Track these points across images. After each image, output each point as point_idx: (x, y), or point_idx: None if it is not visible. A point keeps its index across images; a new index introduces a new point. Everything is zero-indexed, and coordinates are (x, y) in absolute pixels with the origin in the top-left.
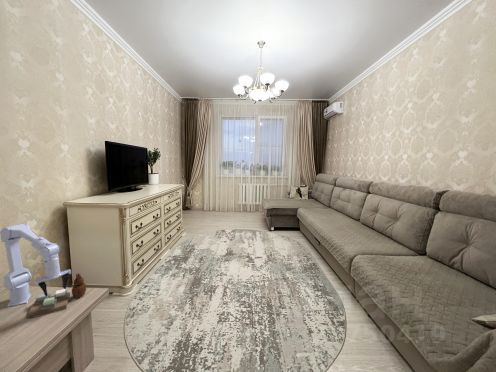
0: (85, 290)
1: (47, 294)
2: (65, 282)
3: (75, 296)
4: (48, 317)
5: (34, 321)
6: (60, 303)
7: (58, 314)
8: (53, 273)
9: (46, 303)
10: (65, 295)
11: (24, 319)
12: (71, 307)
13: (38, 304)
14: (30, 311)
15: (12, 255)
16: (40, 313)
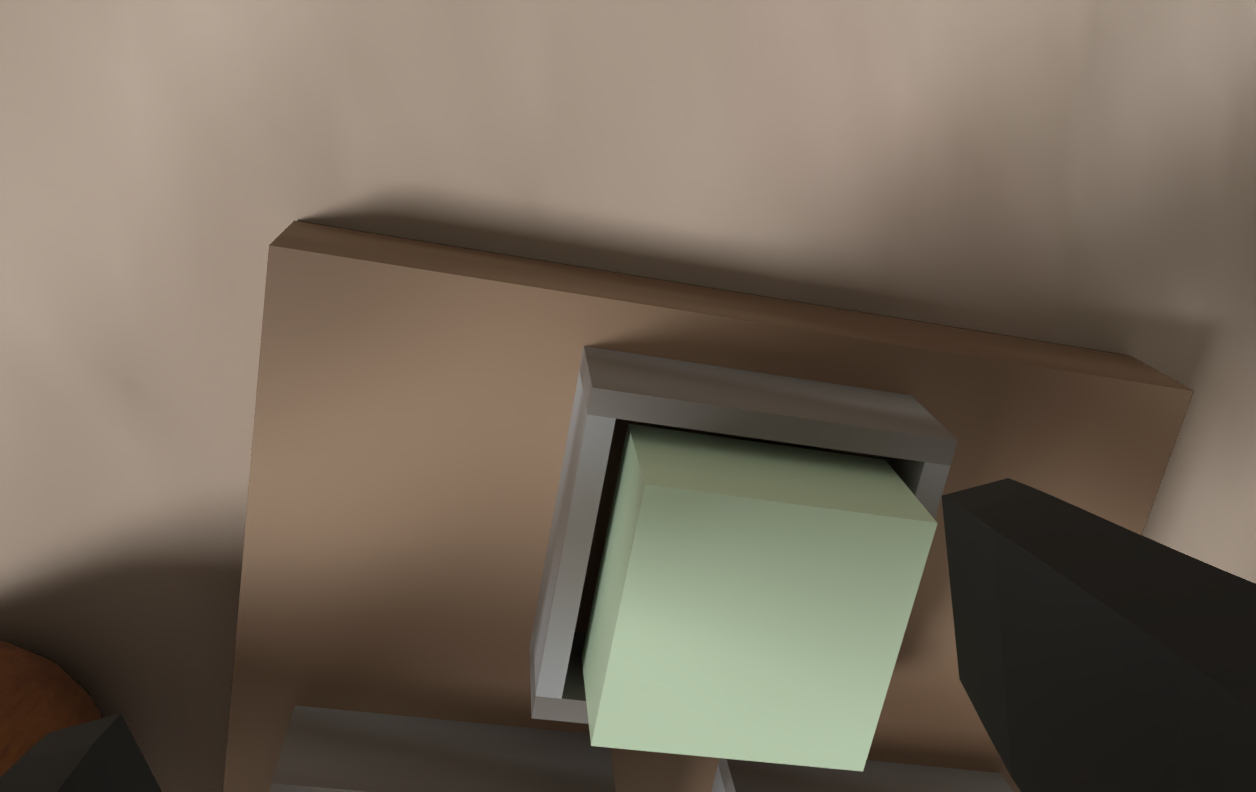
0: None
1: (975, 513)
2: None
3: (35, 676)
4: (734, 38)
5: (1037, 73)
6: (434, 479)
7: (491, 19)
8: None
9: (826, 491)
10: (284, 771)
11: (1197, 352)
12: (152, 203)
13: (937, 766)
14: (1125, 520)
15: None
16: (910, 331)
